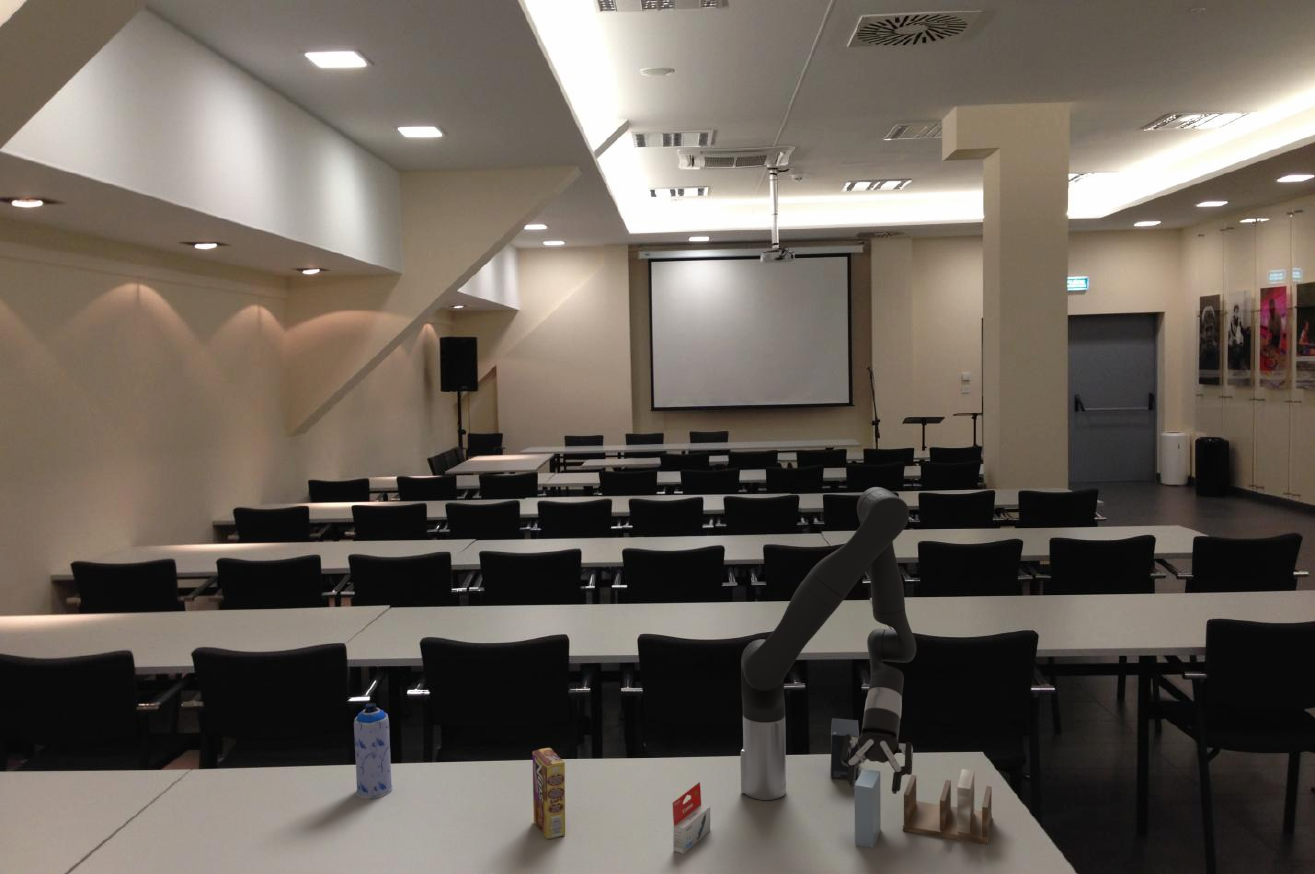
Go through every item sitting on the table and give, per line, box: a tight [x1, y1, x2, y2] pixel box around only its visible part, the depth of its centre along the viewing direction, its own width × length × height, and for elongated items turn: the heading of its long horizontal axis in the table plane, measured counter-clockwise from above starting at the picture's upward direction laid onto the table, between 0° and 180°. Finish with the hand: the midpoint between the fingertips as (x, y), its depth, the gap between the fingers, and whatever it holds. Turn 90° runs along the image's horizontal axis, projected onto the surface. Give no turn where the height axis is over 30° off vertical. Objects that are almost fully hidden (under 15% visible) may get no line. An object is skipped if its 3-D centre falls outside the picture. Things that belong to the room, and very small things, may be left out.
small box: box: [830, 717, 860, 781], centre depth 220 cm, size 11×6×10 cm, turn 168°
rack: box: [902, 768, 993, 846], centre depth 193 cm, size 16×12×10 cm
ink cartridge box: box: [671, 781, 711, 854], centre depth 189 cm, size 2×11×10 cm, turn 148°
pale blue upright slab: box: [854, 768, 882, 848], centre depth 189 cm, size 4×8×12 cm, turn 156°
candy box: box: [532, 747, 566, 840], centre depth 195 cm, size 9×4×15 cm, turn 26°
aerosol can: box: [353, 702, 393, 800], centre depth 214 cm, size 8×8×20 cm
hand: (872, 789), depth 193 cm, fingers open, 8 cm apart
